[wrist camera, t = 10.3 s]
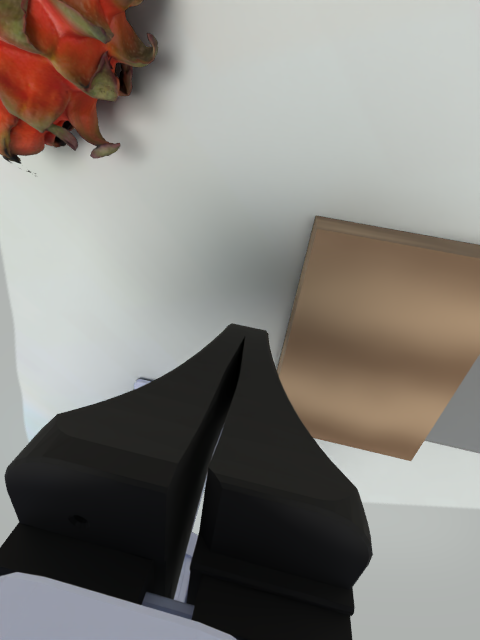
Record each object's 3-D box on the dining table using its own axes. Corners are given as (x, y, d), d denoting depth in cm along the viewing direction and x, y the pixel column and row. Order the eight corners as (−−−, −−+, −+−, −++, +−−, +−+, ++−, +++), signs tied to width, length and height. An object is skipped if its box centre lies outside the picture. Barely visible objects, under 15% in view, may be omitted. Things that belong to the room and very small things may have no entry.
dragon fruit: (180, -92, 15) (97, 144, 22) (-83, -362, 9) (-78, 64, 17) (221, -47, 10) (100, 230, 17) (-234, -511, 5) (-137, 158, 12)
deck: (400, 427, 25) (411, 461, 22) (270, 397, 25) (266, 426, 23) (501, 248, 17) (534, 268, 15) (315, 215, 18) (317, 228, 16)
